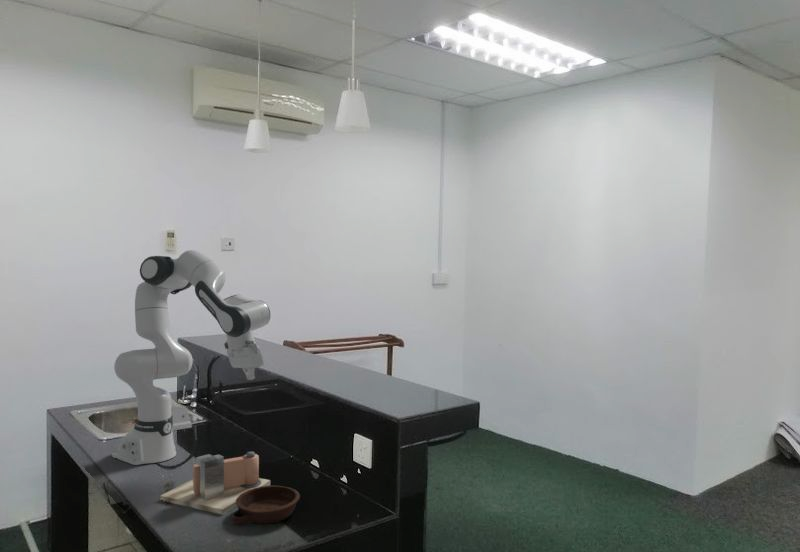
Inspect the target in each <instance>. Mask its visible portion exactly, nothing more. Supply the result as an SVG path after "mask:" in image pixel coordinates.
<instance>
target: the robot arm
mask: <svg viewBox="0 0 800 552" xmlns="http://www.w3.org/2000/svg"><path fill="white" fill-rule="evenodd" d="M139 275H140V277H141V280H143V282H141V283H139V284H138V285H137V288H136V290H135V295H134V296H135V298H134V317H135V319H134V321H135V331H136V333H137V335H138V336H139V337H141V338H142V339H145V340H147V341H150V342H151V343H153V345H154V348H143V349H142V348H141V349H132V350H128V351H124V352H121V353H120V354H119V355H118V356H117V358H116V359H115V361H114V373H115V374H116V376H117V378H118V379H119V380H121V381H122V382H124V383H125V384H127V386H129V387H130V389H132V391H133V393H134V394H135V398H136V406H137V418H135V419H132V422H131V424H134V426H133V429H131V430H130V431H129V432H128V433H126V434H125V435H124V436H122V437H121V439H120V440H119V441H120V442H119V447H118V449H117V450H115V451H113V452H112V454H111V457H112V458H114V459H116V458H117V460H120V461H122V462H125V463H128V464H130V465H132V466H139V465H144V464H156V463H161V462H165V461H168V460H170V459H171V460H172V458H175V456H177V451H176V448H177V447H176V445H175V441H174V439H175V438H174V432H173V431H174V430H172V426H173V416H172V415H171V406H172V396H171V394H170V392H168V391H167V390H165V389H164V388H161V387H158V386H155V385H154V384H153V383H154V381H155V380H163V379H171V378H172V379H173V378H178V377H180V376H184V375H187V374H188V373H189V372H190V371H191V369H192V367H193V363H194V362H193V356H192V353H191V352H190V351H189V349H188V348H186V347H184V346H183V345H181V344H180V343H179V342H178V341H177V340H176V338H175V337H174V335H173V333H172V331H171V327H170V320H169V309H168V307H169V306H168V296H169V294H172V295H176V294H179V293H180V292H182V291H185V290H187V289H188V290H189V288H191V287H192V286H193V287H194V293H195V295H196V297H197V299H198V300H199V301H200V303H201V304H202V305H203V306H204V307H205V309H206V310H207V311H208V312H209V313H210V314H211V316H212V317H213V318H214V320H216V321H217V322H218V325H219V327H220V328H221V330H222V331H223V333H224V334H226V335H225V336H226V340H225V342H224V343H223V347H224V349H225V350H226V353H227V356H228V360H229V364H230V366H231V367H232V369H239V368H241V369H242V371H243V372H244V374H245V378H246V380H247V381H253V380H255V379H256V375H255V369H257V368H260V367H263V366H264V364H265V360H264V357H263V354H262V352H261V351H262V350H261V349H260V346H259V345H258V344H257V343H256V340H255V337H254V333H253V331H255V330H258V329H260V328H262V327H265V326H267V325H268V324H269V323H270V320H271V310H270V307H269V305H268V304H267V303H266V302H264V301H263V300H262V299H261V300H260V299H259V300H257V299H256V300H255V299H250V298H246V297H244V296H242V295H241V294H234V295H231V296H228V297H226V298H222V297H221V296H220V294H219V293H220V292H221V290H222V289H223V287H224V286H225V283H226V274H225V272H224V270H223V268H222V267H221V266H220V265H218V264H217V263H216V262H215V261H213V260H212V259H211V258H210V257H208V256H207V255H205V254H203V253H201V252H199V251H197V250H195V249H194V250H193V249H189V250H186V251H183V253H181V254H180V255H179V256H178V258H172V257H171V256H167V255H165V256H163V255H151V256H148V257H146V258H144V260H143V261H142V263H141V264H140V268H139Z"/></svg>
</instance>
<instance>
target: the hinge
mask: <svg viewBox="0 0 800 552" xmlns="http://www.w3.org/2000/svg"><path fill="white" fill-rule="evenodd" d="M171 415H172V416H173V426H172V430H173V431H177V430H178V431H179V430H184V429H191V428H193V425H192V422H191V416H190V414H189V408H188V407H185V406H178V405H177V406H176V405H174V406H172V405H171Z"/></svg>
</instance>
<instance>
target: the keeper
mask: <svg viewBox="0 0 800 552" xmlns="http://www.w3.org/2000/svg"><path fill="white" fill-rule="evenodd" d="M224 458H225V457H224V456H223V455H221V454H216V455H215V454H214V455H212V454H210V453H208V454H204V455H200V456H196V464H198V465H199V466H200V498H202V499H203V500H209V499H212V498H215V497H218V496H221V495H224Z"/></svg>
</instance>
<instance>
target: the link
mask: <svg viewBox="0 0 800 552" xmlns="http://www.w3.org/2000/svg"><path fill="white" fill-rule="evenodd" d="M259 456H260V455H258V454H257V453H255V452H254V451H247V452H246V454H244V455H242V456H238V457H237V456H236V457H231V458H225V459H224V488H229V487H234V486H239V485H244V484H245V485H253V484H256V483H258V482H259V478H260V475H259V474H260V472H259V470H260V468H259V467H260V465H259V464H260V462H259V461H260V457H259ZM192 479H193V491H194V493H195V494H197V493H200V466H199V465H198V464H197V463H195V464H192Z"/></svg>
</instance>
